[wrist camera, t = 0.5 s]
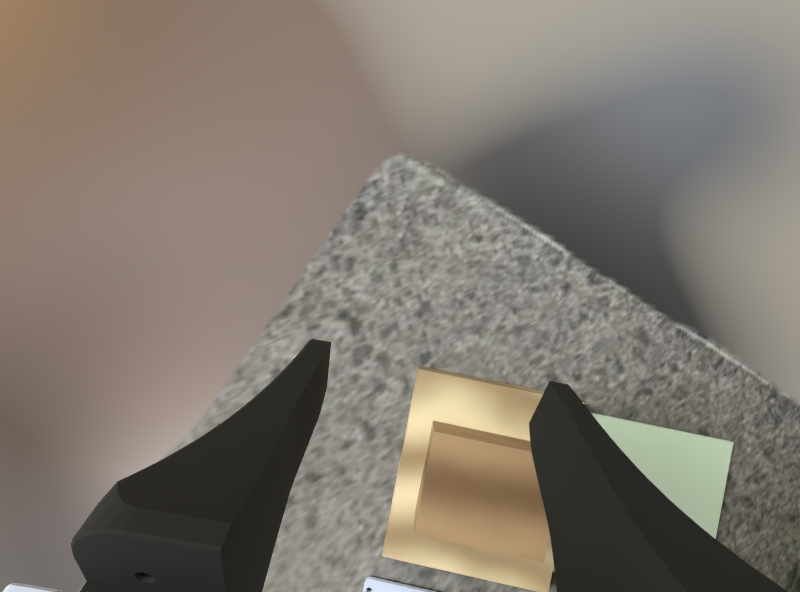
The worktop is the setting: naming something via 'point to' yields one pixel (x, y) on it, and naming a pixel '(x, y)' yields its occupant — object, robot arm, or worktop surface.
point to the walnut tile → (481, 493)
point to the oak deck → (431, 401)
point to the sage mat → (677, 465)
